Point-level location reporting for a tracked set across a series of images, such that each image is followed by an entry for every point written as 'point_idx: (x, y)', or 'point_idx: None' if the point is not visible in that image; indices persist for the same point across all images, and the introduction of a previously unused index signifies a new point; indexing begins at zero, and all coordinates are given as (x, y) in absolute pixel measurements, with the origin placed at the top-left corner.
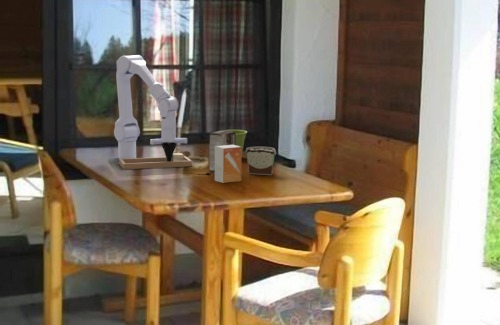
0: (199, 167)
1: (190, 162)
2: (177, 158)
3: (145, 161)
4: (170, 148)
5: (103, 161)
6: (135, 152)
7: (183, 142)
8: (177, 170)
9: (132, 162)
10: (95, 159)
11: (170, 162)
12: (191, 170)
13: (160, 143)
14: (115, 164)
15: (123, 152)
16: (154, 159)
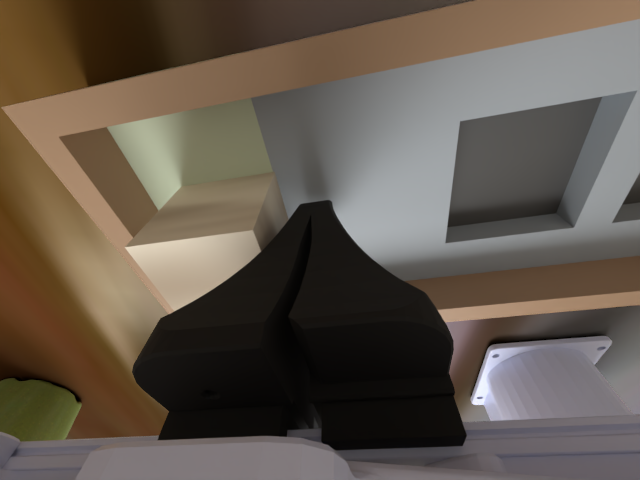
0: (74, 198)
1: (35, 99)
2: (216, 211)
3: (512, 279)
4: (278, 291)
5: (636, 380)
6: (524, 415)
7: (24, 456)
8: (229, 52)
9: (630, 264)
10: (637, 407)
11: (296, 41)
12: (72, 37)
13: (504, 436)
14: (635, 326)
15: (624, 411)
16: (438, 298)
